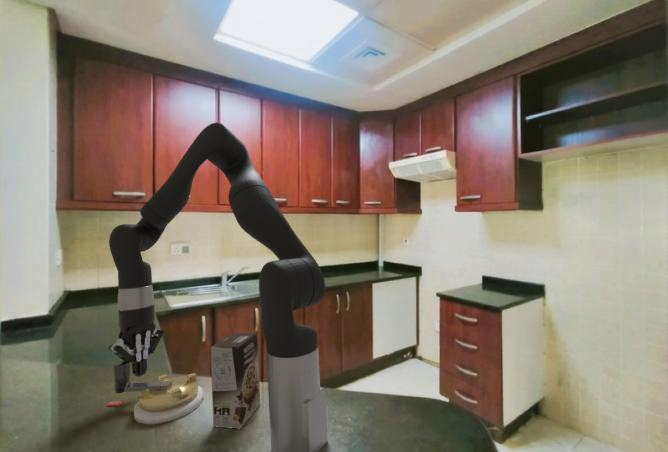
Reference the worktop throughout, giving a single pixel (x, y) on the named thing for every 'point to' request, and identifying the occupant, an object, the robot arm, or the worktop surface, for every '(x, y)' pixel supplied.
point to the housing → (167, 411)
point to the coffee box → (235, 380)
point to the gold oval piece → (156, 389)
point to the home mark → (114, 403)
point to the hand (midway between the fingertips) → (139, 375)
